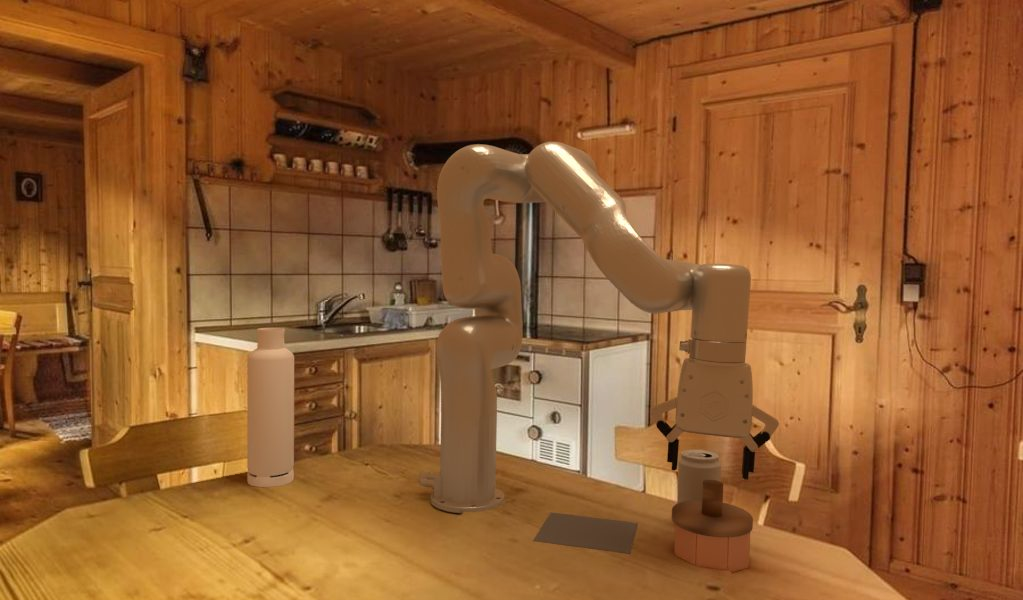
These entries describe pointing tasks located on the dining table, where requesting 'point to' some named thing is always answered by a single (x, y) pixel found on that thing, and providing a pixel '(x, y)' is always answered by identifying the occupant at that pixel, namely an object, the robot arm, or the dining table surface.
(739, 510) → the lid
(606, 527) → the mat
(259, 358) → the bottle
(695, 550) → the bowl
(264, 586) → the dining table surface
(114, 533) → the dining table surface
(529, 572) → the dining table surface
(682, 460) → the beverage can
